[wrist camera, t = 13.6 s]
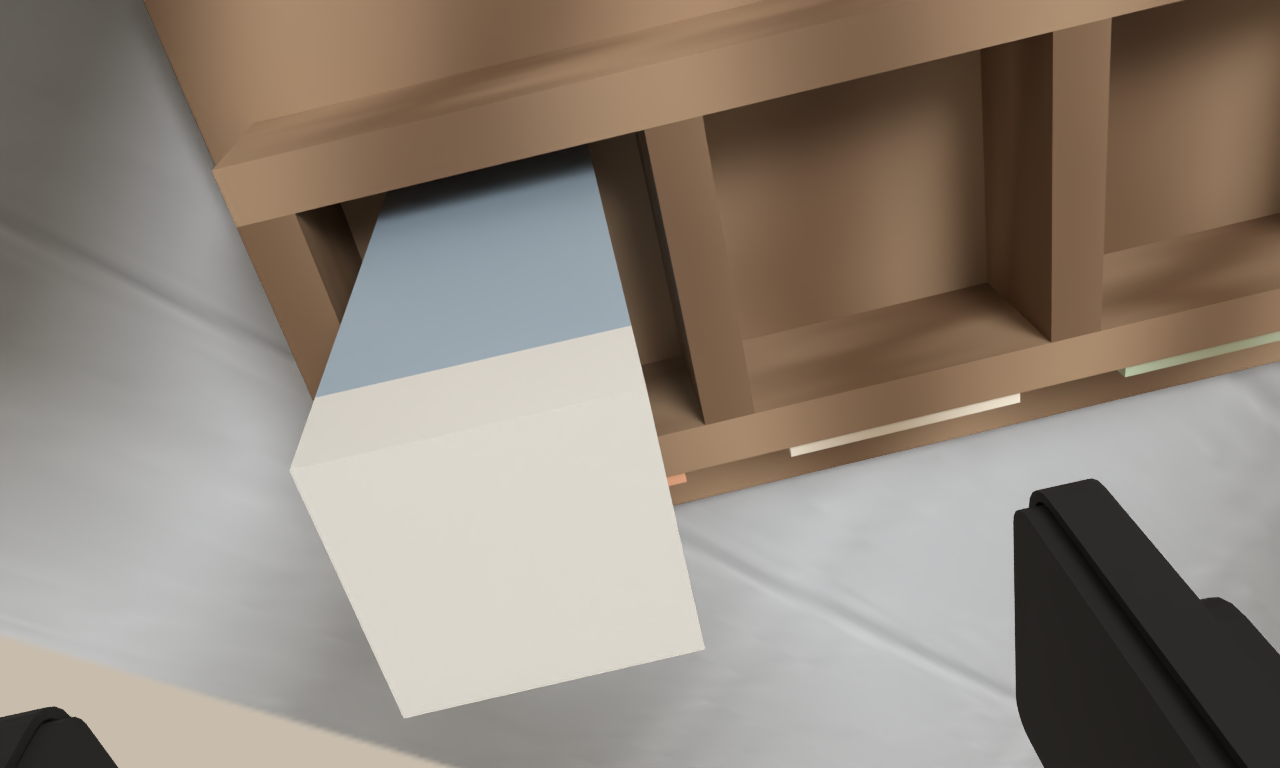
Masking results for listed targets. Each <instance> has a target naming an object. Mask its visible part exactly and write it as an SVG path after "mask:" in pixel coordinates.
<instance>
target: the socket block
mask: <svg viewBox="0 0 1280 768" xmlns="http://www.w3.org/2000/svg"><path fill="white" fill-rule="evenodd" d="M143 2H144V4H145V6H146V9H147V11H148V13H149V15H150V18H151V20H152V22H153V24H154V27H155V29H156V31H157V34H158V36H159V38H160V40H161V43H162V45H163V47H164V50H165V52H166V54H167V56H168V59H169V61H170V63H171V65H172V68H173V70H174V72H175V75H176V77H177V79H178V81H179V84H180V86H181V88H182V91H183V93H184V95H185V97H186V100H187V102H188V104H189V106H190V109H191V111H192V113H193V116H194V118H195V120H196V122H197V125H198V127H199V129H200V132H201V134H202V136H203V138H204V141H205V143H206V145H207V148H208V150H209V152H210V154H211V157H212V159H213V161H214V163H215V167H214V168H213V169H212V173H213V175H214V177H215V180H216V182H217V184H218V186H219V189H220V191H221V193H222V195H223V198H224V200H225V202H226V204H227V207H228V209H229V211H230V213H231V216H232V218H233V220H234V223H235V225H236V227H237V229H238V232H239V234H240V236H241V238H242V241H243V243H244V245H245V247H246V250H247V252H248V254H249V256H250V259H251V261H252V263H253V265H254V268H255V270H256V272H257V275H258V277H259V279H260V281H261V284H262V286H263V288H264V290H265V293H266V295H267V297H268V299H269V302H270V304H271V306H272V308H273V311H274V313H275V315H276V318H277V320H278V322H279V324H280V327H281V329H282V331H283V333H284V336H285V338H286V340H287V342H288V345H289V347H290V349H291V351H292V354H293V356H294V358H295V361H296V363H297V365H298V367H299V370H300V372H301V374H302V376H303V379H304V381H305V383H306V385H307V388H308V390H309V392H310V394H311V397H312V399H313V401H314V399H315V396H316V393H317V391H318V388H319V385H320V382H321V379H322V376H323V373H324V371H325V368H326V365H327V362H328V359H329V356H330V353H331V351H332V348H333V345H334V342H335V339H336V336H337V333H338V331H339V328H340V325H341V322H342V319H343V316H344V313H345V311H346V308H347V305H348V302H349V299H350V296H351V293H352V291H353V288H354V285H355V282H356V279H357V276H358V273H359V271H360V268H361V265H362V262H363V259H364V256H365V254H366V251H367V248H368V245H369V242H370V239H371V236H372V234H373V231H374V228H375V225H376V222H377V219H378V216H379V214H380V211H381V208H382V205H383V202H384V199H385V196H386V194H387V191H390V190H395V189H399V188H403V187H407V186H411V185H415V184H420V183H424V182H428V181H432V180H436V179H440V178H445V177H449V176H453V175H457V174H461V173H465V172H470V171H474V170H478V169H482V168H486V167H490V166H495V165H499V164H503V163H507V162H511V161H515V160H520V159H524V158H528V157H532V156H536V155H540V154H545V153H549V152H553V151H557V150H561V149H565V148H570V147H574V146H578V145H582V144H586V143H588V148H589V152H590V156H591V160H592V164H593V168H594V172H595V177H596V181H597V185H598V189H599V193H600V197H601V201H602V206H603V210H604V214H605V218H606V222H607V226H608V231H609V235H610V239H611V243H612V247H613V251H614V255H615V260H616V264H617V268H618V272H619V276H620V280H621V284H622V289H623V293H624V297H625V301H626V305H627V309H628V314H629V318H630V322H631V326H632V330H633V334H634V338H635V343H636V347H637V351H638V355H639V359H640V363H641V367H642V372H643V376H644V380H645V384H646V388H647V393H648V397H649V402H650V406H651V410H652V415H653V419H654V424H655V428H656V433H657V437H658V442H659V446H660V451H661V455H662V459H663V464H664V468H665V473H666V477H667V482H668V486H669V491H670V495H671V500H672V504H673V505H677V504H681V503H685V502H689V501H694V500H698V499H702V498H706V497H710V496H715V495H719V494H723V493H727V492H731V491H736V490H740V489H744V488H748V487H752V486H757V485H761V484H765V483H769V482H773V481H777V480H782V479H786V478H790V477H794V476H798V475H803V474H807V473H811V472H815V471H819V470H824V469H828V468H832V467H836V466H840V465H845V464H849V463H853V462H857V461H861V460H866V459H870V458H874V457H878V456H882V455H887V454H891V453H895V452H899V451H903V450H908V449H912V448H916V447H920V446H924V445H929V444H933V443H937V442H941V441H945V440H950V439H954V438H958V437H962V436H966V435H971V434H975V433H979V432H983V431H987V430H992V429H996V428H1000V427H1004V426H1008V425H1013V424H1017V423H1021V422H1025V421H1029V420H1034V419H1038V418H1042V417H1046V416H1050V415H1055V414H1059V413H1063V412H1067V411H1071V410H1076V409H1080V408H1084V407H1088V406H1092V405H1096V404H1101V403H1105V402H1109V401H1113V400H1117V399H1122V398H1126V397H1130V396H1134V395H1138V394H1143V393H1147V392H1151V391H1155V390H1159V389H1164V388H1168V387H1172V386H1176V385H1180V384H1185V383H1189V382H1193V381H1197V380H1201V379H1206V378H1210V377H1214V376H1218V375H1222V374H1227V373H1231V372H1235V371H1239V370H1243V369H1248V368H1252V367H1256V366H1260V365H1264V364H1269V363H1273V362H1277V361H1280V0H143Z"/></svg>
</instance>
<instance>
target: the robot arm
mask: <svg viewBox="0 0 1280 768" xmlns="http://www.w3.org/2000/svg"><path fill="white" fill-rule="evenodd" d="M1013 525H1014V592H1015V659H1016V701H1017V707H1018V711H1019V715H1020V718H1021V721H1022V724H1023V727H1024V729H1025V732H1026V734H1027V736H1028V738H1029V740H1030V742H1031V744H1032V746H1033V747H1034V749H1035V751H1036V753H1037V755H1038V757H1039V759H1040V761H1041V763H1042V764H1043V766H1044V768H1280V655H1279V654H1278V653H1277V651H1276V650H1275V649H1274V648H1273V647H1272V646H1271V645H1270V644H1269V642H1268V641H1267V640H1266V639H1265V638H1264V637H1263V636H1262V634H1261V633H1260V632H1259V631H1258V630H1257V629H1256V628H1255V627H1254V625H1253V624H1252V623H1251V622H1250V621H1249V620H1248V619H1247V617H1246V616H1245V615H1244V614H1242V613H1241V612H1240V611H1239V610H1238V609H1237V608H1236V607H1235V606H1234V605H1233V604H1232V603H1230V602H1228V601H1225V600H1223V599H1221V598H1219V597H1215V598H1206V599H1201V600H1200V599H1199V598H1198V597H1197V596H1196V594H1195V593H1194V592H1193V591H1192V590H1191V589H1190V587H1189V586H1188V585H1187V584H1186V583H1185V581H1184V580H1183V579H1182V578H1181V577H1180V576H1179V574H1178V573H1177V572H1176V571H1175V570H1174V568H1173V567H1172V566H1171V565H1170V564H1169V562H1168V561H1167V560H1166V559H1165V558H1164V557H1163V555H1162V554H1161V553H1160V552H1159V551H1158V549H1157V548H1156V547H1155V546H1154V545H1153V543H1152V542H1151V541H1150V540H1149V539H1148V538H1147V536H1146V535H1145V534H1144V533H1143V532H1142V530H1141V529H1140V528H1139V527H1138V526H1137V524H1136V523H1135V522H1134V521H1133V520H1132V519H1131V517H1130V516H1129V515H1128V514H1127V513H1126V511H1125V510H1124V509H1123V508H1122V507H1121V505H1120V504H1119V503H1118V502H1117V501H1116V500H1115V498H1114V497H1113V496H1112V495H1111V494H1110V492H1109V491H1108V490H1107V489H1106V488H1105V487H1104V486H1103V485H1102V484H1101V483H1100V482H1099V481H1098V480H1095V479H1092V478H1091V479H1087V480H1082V481H1078V482H1073V483H1068V484H1064V485H1059V486H1055V487H1050V488H1046V489H1041V490H1037V491H1034V492H1032V495H1031V497H1030V503H1029V508H1026V509H1021V510H1018V511H1016V512H1015V514H1014V522H1013ZM0 768H118V767H117V765H116V764H115V763H114V761H113V760H112V759H111V757H110V756H109V754H108V753H107V752H106V750H105V749H104V748H103V746H102V745H101V743H100V742H99V741H98V739H97V738H96V737H95V735H94V734H93V733H92V731H91V730H90V728H89V727H88V726H87V724H85V722H83V721H82V720H81V719H79V718H77V717H70V716H69V715H68V714H67V713H66V712H65V711H64V710H63V709H60V708H57V707H47V708H42V709H37V710H32V711H28V712H23V713H19V714H14V715H9V716H5V717H1V718H0Z"/></svg>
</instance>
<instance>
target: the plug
mask: <svg viewBox="0 0 1280 768" xmlns="http://www.w3.org/2000/svg"><path fill="white" fill-rule="evenodd" d="M289 471H290V473H291V475H292V477H293V480H294V482H295V484H296V486H297V488H298V490H299V493H300V495H301V497H302V499H303V501H304V503H305V506H306V508H307V510H308V512H309V514H310V516H311V519H312V521H313V523H314V525H315V527H316V529H317V532H318V534H319V536H320V538H321V540H322V542H323V545H324V547H325V549H326V551H327V553H328V555H329V558H330V560H331V562H332V564H333V566H334V568H335V571H336V573H337V575H338V577H339V579H340V581H341V584H342V586H343V588H344V590H345V592H346V594H347V597H348V599H349V601H350V603H351V605H352V607H353V610H354V612H355V614H356V616H357V618H358V620H359V623H360V625H361V627H362V629H363V631H364V633H365V636H366V638H367V640H368V642H369V644H370V646H371V649H372V651H373V653H374V655H375V657H376V659H377V662H378V664H379V666H380V668H381V670H382V672H383V675H384V677H385V679H386V681H387V683H388V685H389V688H390V690H391V692H392V694H393V696H394V698H395V701H396V703H397V705H398V707H399V709H400V711H401V714H402V716H403V718H408V717H413V716H417V715H421V714H426V713H430V712H434V711H439V710H443V709H447V708H452V707H456V706H461V705H465V704H469V703H474V702H478V701H482V700H487V699H491V698H496V697H500V696H504V695H509V694H513V693H517V692H522V691H526V690H530V689H535V688H539V687H544V686H548V685H552V684H557V683H561V682H565V681H570V680H574V679H579V678H583V677H587V676H592V675H596V674H600V673H605V672H609V671H613V670H618V669H622V668H627V667H631V666H635V665H640V664H644V663H648V662H653V661H657V660H662V659H666V658H670V657H675V656H679V655H683V654H688V653H692V652H696V651H701V650H705V647H704V642H703V638H702V633H701V629H700V624H699V620H698V615H697V611H696V607H695V602H694V598H693V593H692V589H691V584H690V580H689V575H688V571H687V566H686V562H685V558H684V553H683V549H682V544H681V540H680V535H679V531H678V526H677V522H676V517H675V513H674V508H673V504H672V500H671V495H670V491H669V486H668V482H667V477H666V473H665V468H664V464H663V459H662V455H661V451H660V446H659V442H658V437H657V433H656V428H655V424H654V419H653V415H652V410H651V406H650V402H649V397H648V393H647V388H646V384H645V380H644V376H643V372H642V367H641V363H640V359H639V355H638V351H637V347H636V343H635V338H634V334H633V330H632V326H631V322H630V318H629V314H628V309H627V305H626V301H625V297H624V293H623V289H622V284H621V280H620V276H619V272H618V268H617V264H616V260H615V255H614V251H613V247H612V243H611V239H610V235H609V231H608V226H607V222H606V218H605V214H604V210H603V206H602V201H601V197H600V193H599V189H598V185H597V181H596V177H595V172H594V168H593V164H592V160H591V156H590V152H589V148H588V143H586V144H582V145H578V146H574V147H570V148H565V149H561V150H557V151H553V152H549V153H545V154H540V155H536V156H532V157H528V158H524V159H520V160H515V161H511V162H507V163H503V164H499V165H495V166H490V167H486V168H482V169H478V170H474V171H470V172H465V173H461V174H457V175H453V176H449V177H445V178H440V179H436V180H432V181H428V182H424V183H420V184H415V185H411V186H407V187H403V188H399V189H395V190H390V191H387V194H386V196H385V199H384V202H383V205H382V208H381V211H380V214H379V216H378V219H377V222H376V225H375V228H374V231H373V234H372V236H371V239H370V242H369V245H368V248H367V251H366V254H365V256H364V259H363V262H362V265H361V268H360V271H359V273H358V276H357V279H356V282H355V285H354V288H353V291H352V293H351V296H350V299H349V302H348V305H347V308H346V311H345V313H344V316H343V319H342V322H341V325H340V328H339V331H338V333H337V336H336V339H335V342H334V345H333V348H332V351H331V353H330V356H329V359H328V362H327V365H326V368H325V371H324V373H323V376H322V379H321V382H320V385H319V388H318V391H317V393H316V396H315V399H314V402H313V405H312V408H311V410H310V413H309V416H308V419H307V422H306V425H305V428H304V430H303V433H302V436H301V439H300V442H299V445H298V448H297V450H296V453H295V456H294V459H293V462H292V465H291V468H290V470H289Z"/></svg>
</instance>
